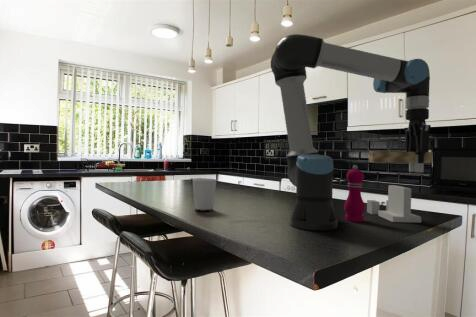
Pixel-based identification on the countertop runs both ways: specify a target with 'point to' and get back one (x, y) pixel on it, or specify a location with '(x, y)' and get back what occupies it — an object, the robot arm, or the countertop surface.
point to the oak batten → (398, 157)
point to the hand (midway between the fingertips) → (416, 171)
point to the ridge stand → (399, 205)
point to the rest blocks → (374, 206)
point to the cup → (204, 194)
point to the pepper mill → (354, 196)
